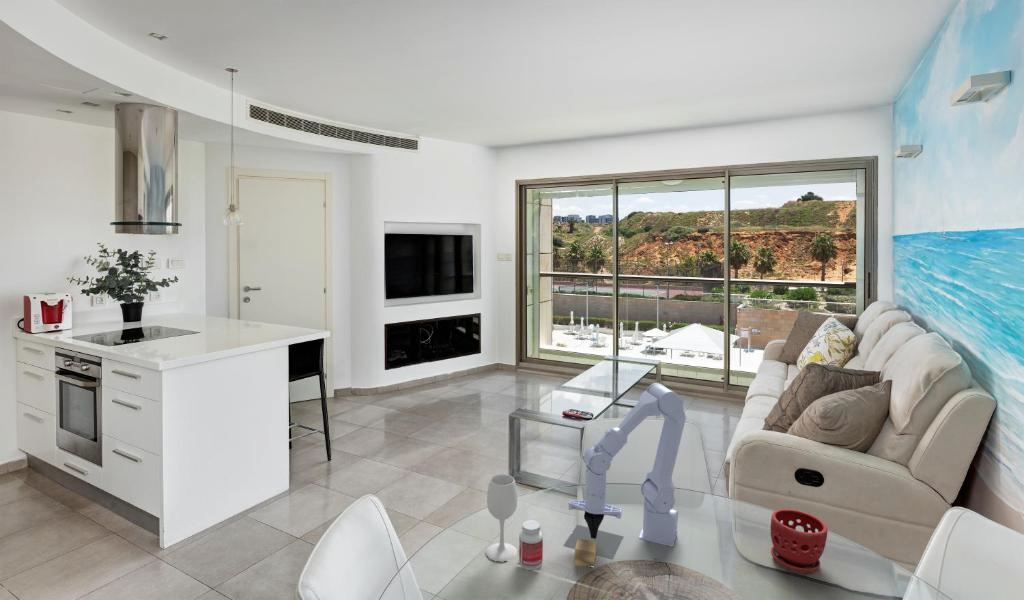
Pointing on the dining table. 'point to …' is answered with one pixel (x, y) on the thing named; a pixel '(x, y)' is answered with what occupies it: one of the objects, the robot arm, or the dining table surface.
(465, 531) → the dining table surface
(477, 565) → the dining table surface
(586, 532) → the mat
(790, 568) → the plant pot
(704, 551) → the dining table surface
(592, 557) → the oak block
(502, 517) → the wineglass
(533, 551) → the pill bottle
